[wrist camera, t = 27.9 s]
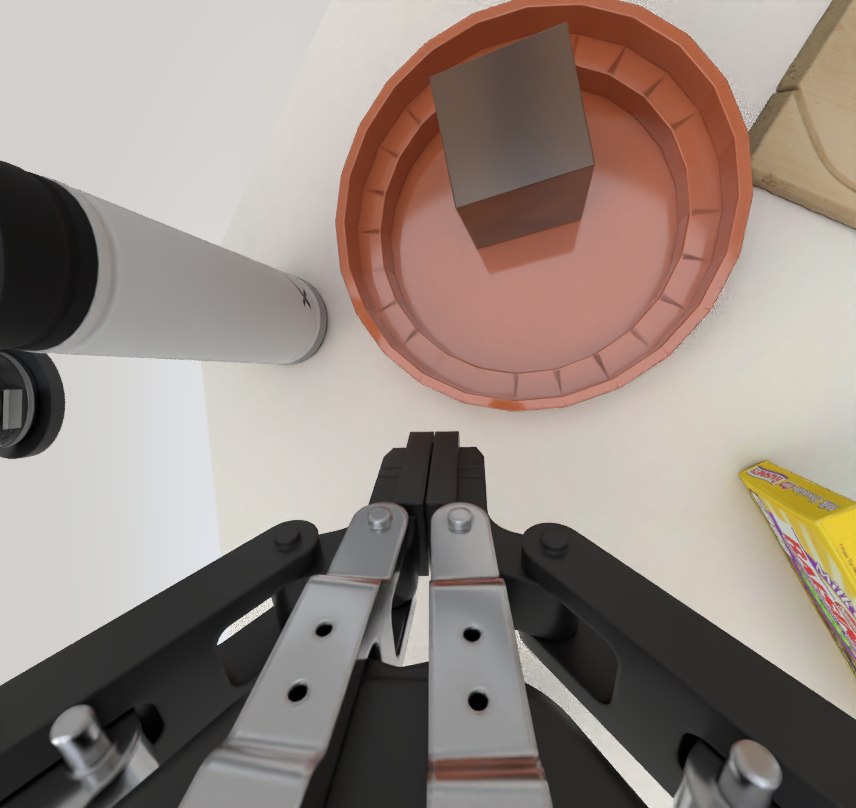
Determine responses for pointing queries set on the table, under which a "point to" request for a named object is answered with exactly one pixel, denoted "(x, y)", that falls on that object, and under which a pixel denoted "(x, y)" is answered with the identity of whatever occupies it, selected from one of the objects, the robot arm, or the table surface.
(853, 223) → the board
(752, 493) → the candy box
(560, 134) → the walnut block
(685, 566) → the table surface
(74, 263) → the travel mug
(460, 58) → the bowl
